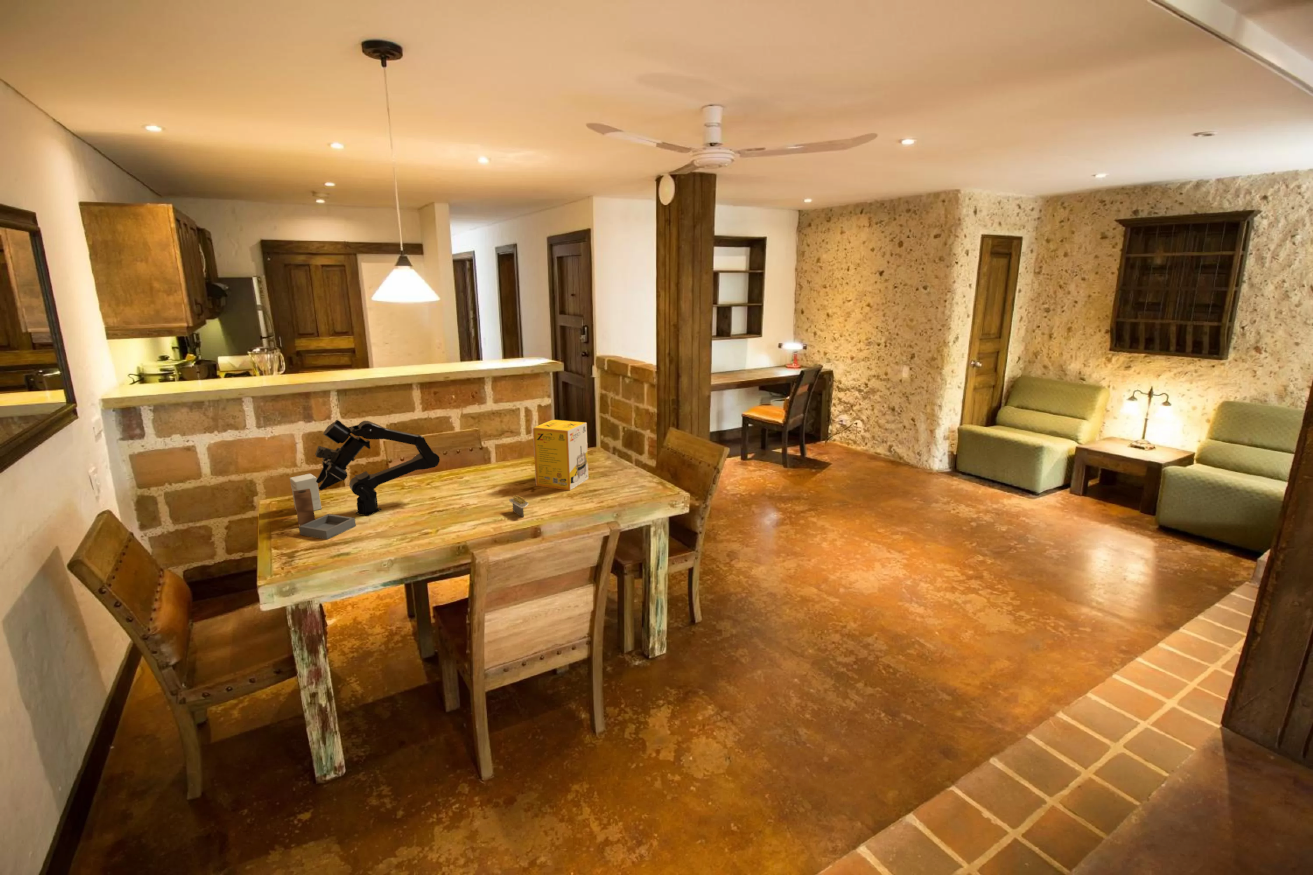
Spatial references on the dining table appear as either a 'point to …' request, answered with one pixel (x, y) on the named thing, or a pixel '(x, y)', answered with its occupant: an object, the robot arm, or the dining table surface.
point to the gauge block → (304, 506)
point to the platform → (518, 504)
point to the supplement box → (307, 483)
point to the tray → (327, 526)
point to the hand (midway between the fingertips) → (318, 485)
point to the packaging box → (560, 454)
